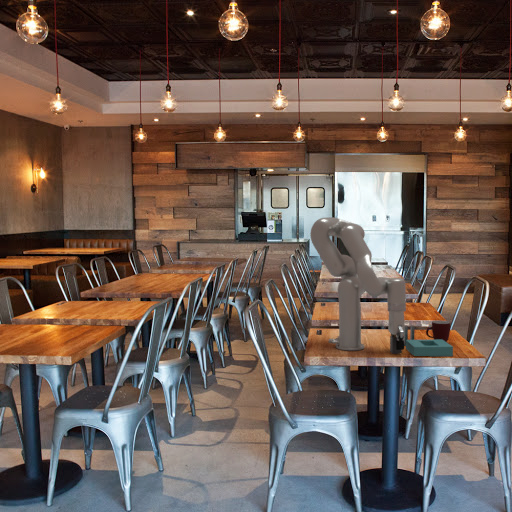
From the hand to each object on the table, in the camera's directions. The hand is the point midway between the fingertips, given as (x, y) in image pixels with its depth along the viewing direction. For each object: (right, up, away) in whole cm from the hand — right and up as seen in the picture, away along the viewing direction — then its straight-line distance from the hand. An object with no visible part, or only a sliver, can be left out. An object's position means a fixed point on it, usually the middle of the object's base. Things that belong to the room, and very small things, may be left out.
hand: (397, 347), depth 247 cm
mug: (+23, -1, +16) cm, 28 cm away
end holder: (+13, -2, 0) cm, 14 cm away
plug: (-1, -3, 0) cm, 3 cm away
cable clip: (+9, -1, +13) cm, 16 cm away
